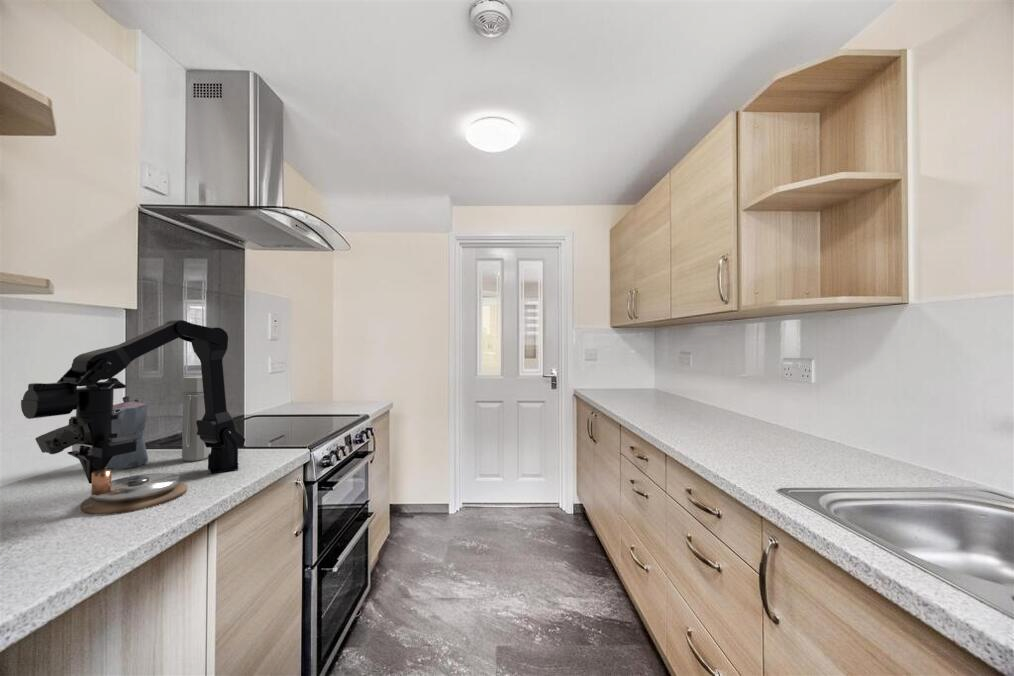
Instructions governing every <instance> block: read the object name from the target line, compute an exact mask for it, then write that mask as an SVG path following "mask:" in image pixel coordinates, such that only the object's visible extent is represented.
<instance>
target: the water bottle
mask: <svg viewBox="0 0 1014 676" xmlns="http://www.w3.org/2000/svg"><path fill="white" fill-rule="evenodd" d="M180 396H181V397H182V417H181V418H182V419H181V420H182V424H181V425H182V427H181V429H182V430H181V431H182V432H181V433H182V434H181V436H182V437H181V439H182V442H181V448H182V449H181V460H183V461H185V462H190V461H192V462H200V461H204V460H206V459H207V460H208V455H209V453H211V448H207V447H206V445H205V443H204V441H202V440H201V439H200V436H199V435H197V431H198V428H197V424H196V421H197V420H202V418H203V416H204V414H205V404H204V393H203V382H202V375H201V376H200V375H199V376H198V375H197V376H183V381H182V388H181V393H180ZM199 460H200V461H199Z"/></svg>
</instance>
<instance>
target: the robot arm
mask: <svg viewBox="0 0 1014 676" xmlns="http://www.w3.org/2000/svg"><path fill="white" fill-rule="evenodd" d="M176 339H180V340H182V341H184V342H187V343H191V347H192V349H193V352H194V354H195V355H196V357H197V358H198V360H199V362H200V370H201V376H202V382H203V393H204V404H205V414H204V416H203V418H202V420H197V421H196V424H197V428H198V431H197V435H199V436H200V439H201V440H202V441H204V443H205V445H206V447H207V448H211V453H209V455H208V458H207V470H208V471H209V474H215V473H223V472H231V471H232V472H233V471H238V470H239V448H242V447H244V445H245V442H246V439H245V437H244V436H242V435H241V434H240V433H239V432H238V431H237V428H236V424H235V421H234V419H233V418H232V416H231V414H230V413H229V411H228V407H227V401H226V400H227V399H226V398H227V397H226V387H225V385H226V384H225V374H224V363H223V361H224V360H223V359H224V357H225V355H226V353H227V351H228V349H229V348H228V347H229V335H228V332H227V331H225V329H223V328H221V327H213V326H212V327H209V326H204V325H200V324H196V323H193V322H189V321H186V320H184V319H183V320H182V319H179V320H178V319H177V320H176V319H175V320H174V319H172V320H168V321H166V323H164V324H161V325H159V326H157V327H155V328H153V329H151V330H150V329H149V330H148V331H146V332H144V333H141V334H139V335H138V336H135V337H132V338H131V339H127V340H126V341H124V342H122V343H121V342H120V343H119V344H116V345H113V346H109V347H103V348H99V349H95V350H91V351H87V352H85V353H84V352H83V353H81V354H78V355H77V356H75V357H74V358H73V360H72V363H71V367H70V368H69V369H68V370H67V371H66V372H65V373H64V374H63V375H62V376H61V377H60V379H58V380H57V382H50V383H43V382H42V383H39V382H35V383H34V382H33V383H29V384H27V385H28V386H27V387H28V388H27V390H25V392H24V393H23V396H22V399H21V401H20V409H21V412H22V414H23V416H24V417H25V418H26V419H29V420H31V419H41V418H46V417H56V416H64V415H70V414H71V413H72V412H73V411H75V415H73V416H70V418H69V419H68V425H65V426H61V427H59V428H56V429H53V430H51V431H49V432H46V433H44V434H41V435H40V436H37V437H35V439H34V440H35V442H36V443H37V446H38V448H39V449H40V451H41V453H44V454H45V453H47V454H49V455H56V454H59V453H61V452H63V451H64V450H66V449H68V448H70V447H72V449H71V451H68V452H67V454H68V455H70V456H72V457H74V458H76V459H77V460H79V462H80V464H81V466H82V469H83V472H84V474H85V477H86V479H87V483H88V484H91V485H92V472H94V471H98V470H105V469H106V468H107V464H108V463H109V461H110V460H111V458H112V457H113V456H116V455H121V454H125V453H130V452H135V451H137V441H135V440H134V439H132V438H126V437H120V438H117V433H114V432H112V427H113V420H114V419H118V414H113V405H114V390H118V389H126V388H127V385H126V384H125V383H123V382H121V381H120V380H119V379H118V378H116V377H115V376H116V375H118V374H119V373H121V372H122V371H124V370H125V369H126V368H127V367H128V366H129V365H130V364H131V363H132V362H133V361H134V360H136V359H138V358H140V357H142V356H144V355H146V354H148V353H151V352H152V351H154V350H156V349H158V348H160V347H162V346H164V345H166V344H168V343H171V342H173V341H174V340H176ZM101 380H102V381H101ZM112 438H114V439H112Z"/></svg>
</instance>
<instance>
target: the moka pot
mask: <svg viewBox="0 0 1014 676" xmlns="http://www.w3.org/2000/svg"><path fill="white" fill-rule="evenodd" d="M147 410H148V404H147V402H146V403H145V402H139V400H138V399H135V400H133V401H130V396H124V397H122V402H120V403H116V404H113V414H118V419H114V420H113V427H112V432H114V433H117V438H120V437H126V438H132V439H134V440H135V441H137V451H135V452H130V453H125V454H121V455H116V456H113V457H112V458H111V460H110V461H109V463H108V464H107V466H106V468H107V469H108V468H109V469H118V470H125V469H124V468H128V469H132V468H131V467H133V468H136V466H137V467H140V466H142V465H145V464H146V463H147V462H148V461H149V455H148V452H147V447H146V443H145V442H146V441H145V438H144V437H143V436H144V431H145V427H146V420H147V418H146V417H147V412H148V411H147ZM112 439H114V438H112Z"/></svg>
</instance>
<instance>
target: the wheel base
mask: <svg viewBox="0 0 1014 676" xmlns="http://www.w3.org/2000/svg"><path fill="white" fill-rule="evenodd" d="M187 490H188V484H187V483H185V482H183V481H182V482H181V481H179V484H178V486H176V487H175V488H173V489H171V490H168V491H166V492H163V493H160V494H157V495H153V496H149V497H144V498H140V499H134V500H128V501H119V502H97V501H93V500H92V499H91V496H89V497H87V498H86V499H84V500H83V501H82V502H80V511H81V513H83V514H86V515H87V514H88V515H94V514H106V515H115V514H114V513H117V514H123V513H122V512H125V513H130V512H129V511H131V512H135V510H137V511H139V510H140V509H142V510H145V509H144V508H146V509H149V508H148V507H150V508H154V507H157V506H156V505H158V506H160V505H159V504H161V505H164V504H167V503H169V501H170V502H172V501H174V499H175V500H176V498H177V499H178V497H179V498H181V497H183V496H184V495H185V494H186V493H187ZM183 494H184V495H183ZM180 496H181V497H180ZM171 500H172V501H171ZM166 502H167V503H166ZM163 503H164V504H163ZM153 506H154V507H153Z"/></svg>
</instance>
